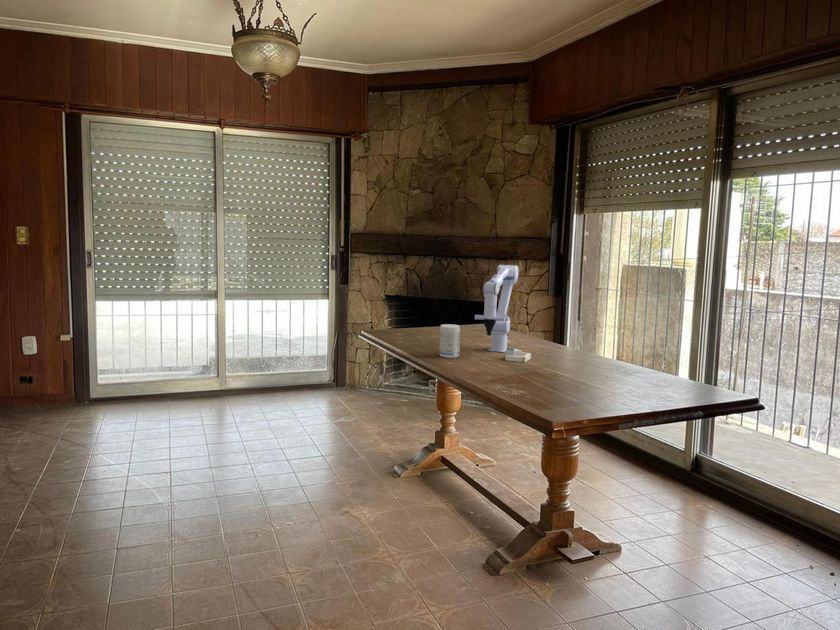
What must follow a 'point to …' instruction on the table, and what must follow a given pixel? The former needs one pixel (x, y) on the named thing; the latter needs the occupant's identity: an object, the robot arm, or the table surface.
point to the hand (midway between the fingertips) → (489, 335)
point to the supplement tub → (449, 340)
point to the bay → (519, 357)
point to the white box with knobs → (513, 352)
